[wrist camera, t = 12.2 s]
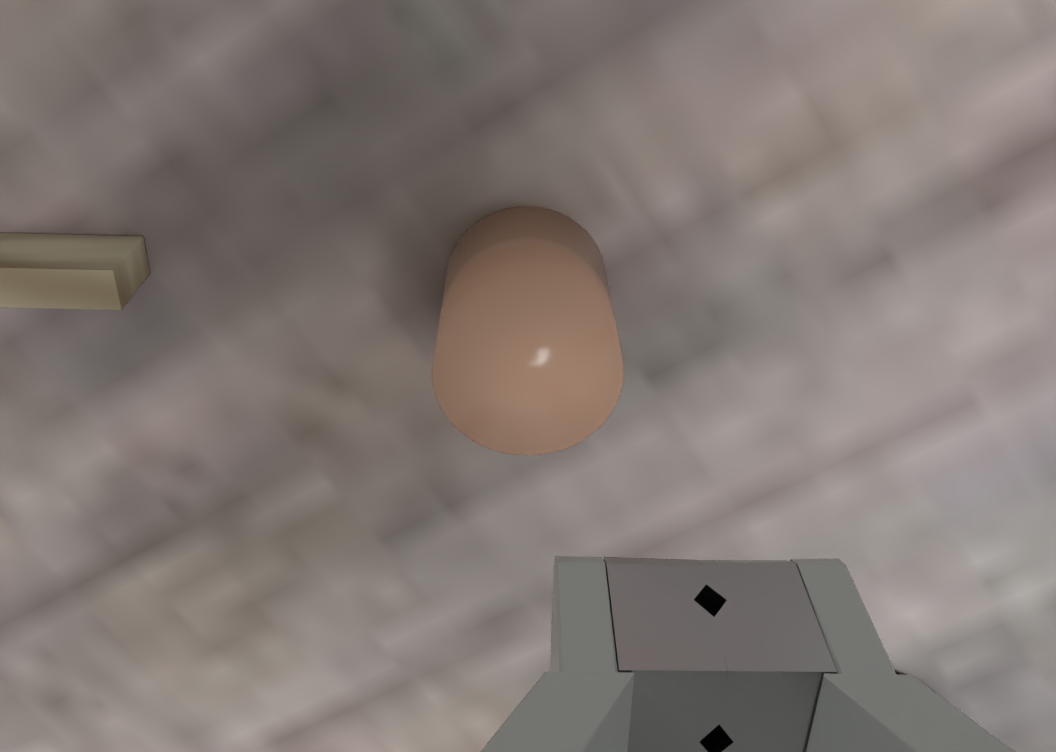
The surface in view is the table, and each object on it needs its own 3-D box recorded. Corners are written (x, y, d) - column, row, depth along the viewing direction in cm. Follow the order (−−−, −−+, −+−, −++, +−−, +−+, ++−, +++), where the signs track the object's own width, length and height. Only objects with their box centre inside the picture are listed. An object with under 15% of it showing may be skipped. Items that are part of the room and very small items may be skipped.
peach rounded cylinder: (599, 353, 37) (616, 457, 31) (447, 349, 37) (433, 453, 31) (611, 208, 34) (631, 293, 28) (445, 204, 34) (429, 288, 28)
